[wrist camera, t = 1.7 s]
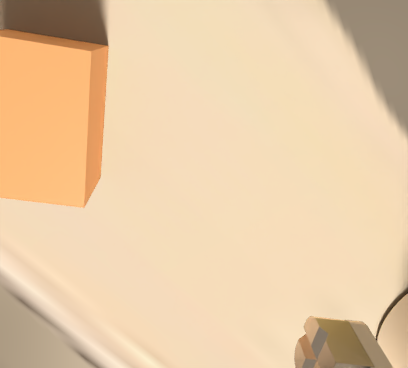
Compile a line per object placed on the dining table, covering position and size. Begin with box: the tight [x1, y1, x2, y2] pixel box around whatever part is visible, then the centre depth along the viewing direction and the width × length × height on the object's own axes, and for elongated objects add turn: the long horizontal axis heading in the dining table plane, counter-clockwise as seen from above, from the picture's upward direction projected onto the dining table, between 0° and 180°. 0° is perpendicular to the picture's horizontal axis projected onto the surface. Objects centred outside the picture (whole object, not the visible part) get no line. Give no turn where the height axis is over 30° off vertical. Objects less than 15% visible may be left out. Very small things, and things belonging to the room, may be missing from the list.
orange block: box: [0, 29, 109, 208], centre depth 23 cm, size 6×9×5 cm, turn 171°
